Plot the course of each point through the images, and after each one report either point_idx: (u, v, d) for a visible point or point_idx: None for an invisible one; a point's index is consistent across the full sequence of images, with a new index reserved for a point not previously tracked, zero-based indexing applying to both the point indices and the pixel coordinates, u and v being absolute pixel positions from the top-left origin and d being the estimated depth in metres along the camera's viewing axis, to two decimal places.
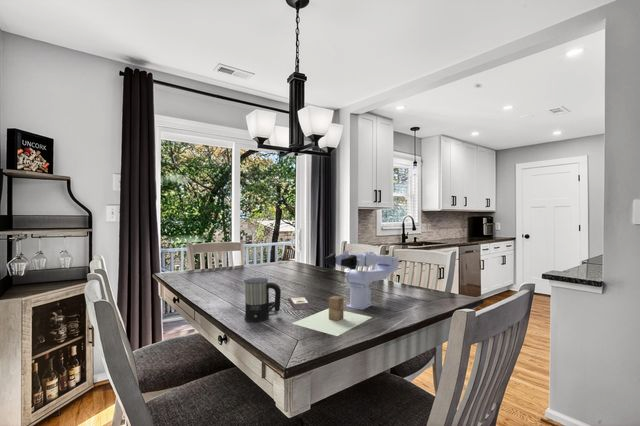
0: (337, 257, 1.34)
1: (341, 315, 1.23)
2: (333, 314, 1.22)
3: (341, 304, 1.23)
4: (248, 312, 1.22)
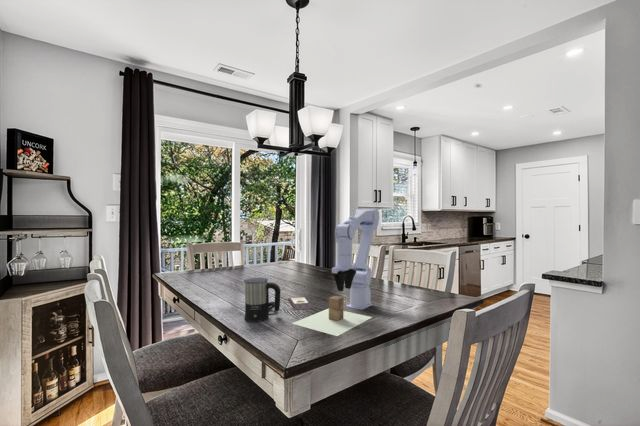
0: None
1: (341, 315, 1.23)
2: (333, 314, 1.22)
3: (341, 304, 1.23)
4: (248, 312, 1.22)
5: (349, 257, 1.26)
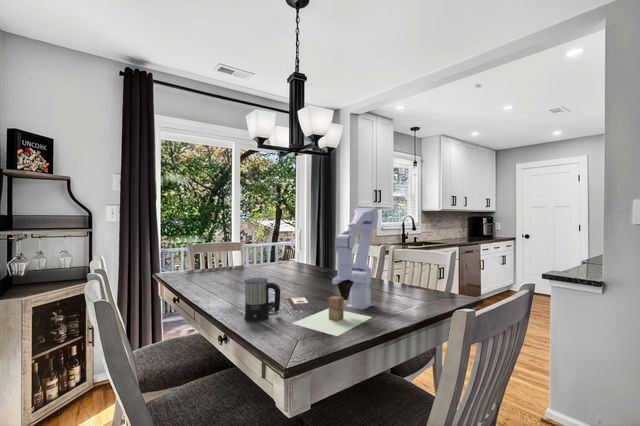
0: None
1: (341, 315, 1.23)
2: (333, 314, 1.22)
3: (341, 304, 1.23)
4: (248, 312, 1.22)
5: (349, 267, 1.26)
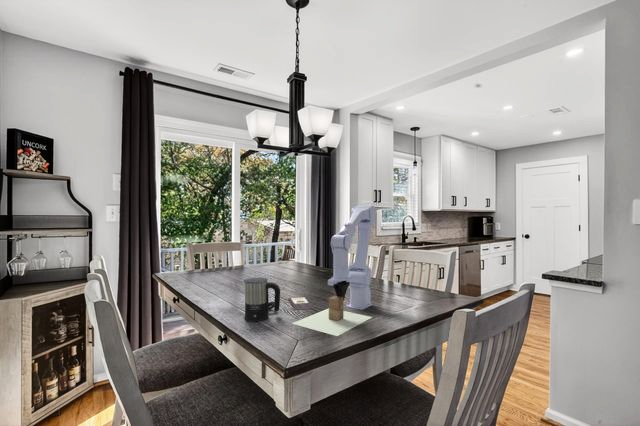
0: None
1: (341, 315, 1.23)
2: (333, 314, 1.22)
3: (341, 304, 1.23)
4: (247, 312, 1.22)
5: (345, 268, 1.24)
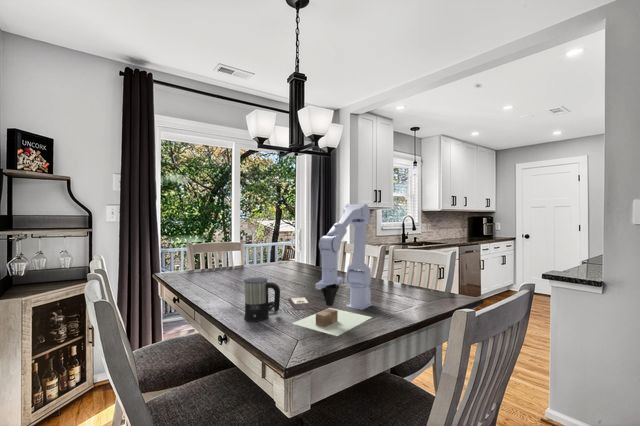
0: None
1: (335, 315, 1.19)
2: None
3: (328, 318, 1.16)
4: (247, 312, 1.22)
5: (334, 271, 1.18)
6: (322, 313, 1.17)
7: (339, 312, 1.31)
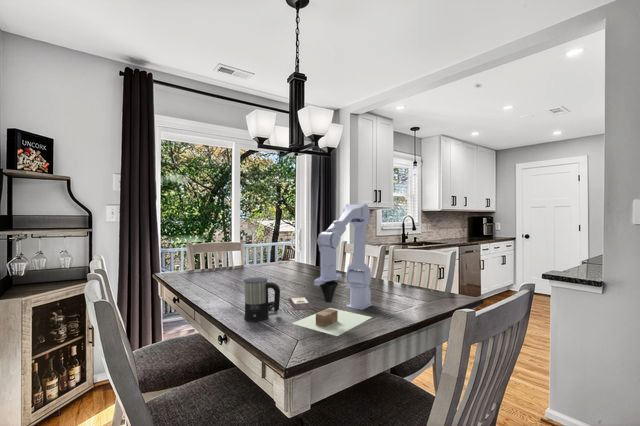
0: None
1: (335, 315, 1.19)
2: None
3: (328, 318, 1.16)
4: (247, 311, 1.23)
5: (333, 267, 1.17)
6: (322, 313, 1.17)
7: (339, 312, 1.31)
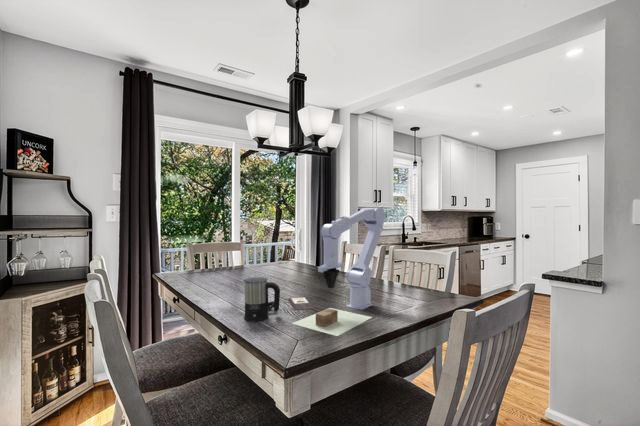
0: None
1: (335, 315, 1.19)
2: None
3: (328, 318, 1.16)
4: (247, 311, 1.23)
5: (335, 256, 1.29)
6: (322, 313, 1.17)
7: (339, 312, 1.31)
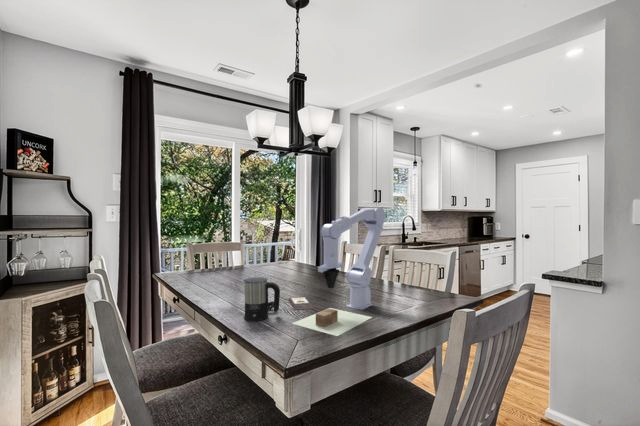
0: None
1: (335, 315, 1.19)
2: None
3: (328, 318, 1.16)
4: (247, 311, 1.23)
5: (335, 256, 1.29)
6: (322, 313, 1.17)
7: (339, 312, 1.31)
